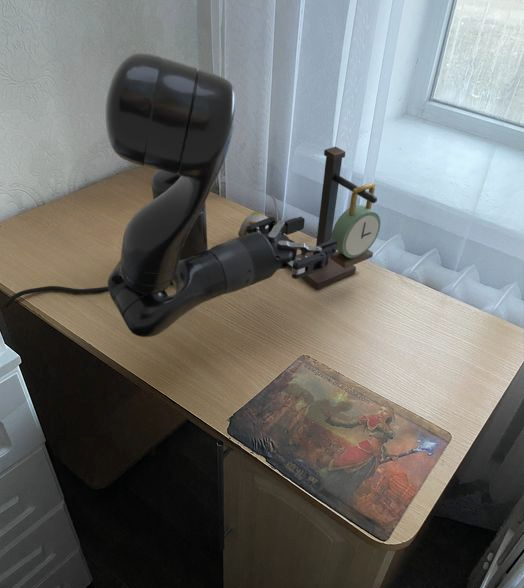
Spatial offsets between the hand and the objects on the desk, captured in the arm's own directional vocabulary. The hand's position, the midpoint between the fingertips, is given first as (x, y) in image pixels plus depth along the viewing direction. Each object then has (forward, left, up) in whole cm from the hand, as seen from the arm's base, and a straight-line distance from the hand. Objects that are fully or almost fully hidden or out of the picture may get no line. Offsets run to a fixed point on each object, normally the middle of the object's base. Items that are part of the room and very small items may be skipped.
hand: (318, 233), depth 90 cm
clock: (+7, +6, -8) cm, 12 cm away
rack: (+4, +10, -15) cm, 18 cm away
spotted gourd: (-10, +19, -15) cm, 26 cm away
